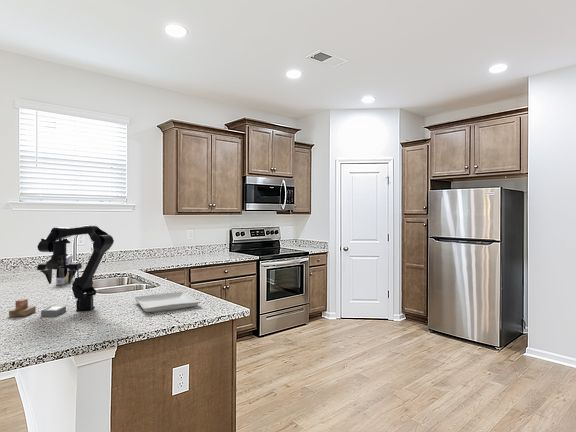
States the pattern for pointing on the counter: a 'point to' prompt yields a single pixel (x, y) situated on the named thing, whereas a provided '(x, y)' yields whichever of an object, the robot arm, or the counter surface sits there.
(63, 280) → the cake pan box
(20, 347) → the counter surface
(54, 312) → the board
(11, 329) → the counter surface
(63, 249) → the robot arm
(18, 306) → the block on square base
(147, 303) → the square plate
